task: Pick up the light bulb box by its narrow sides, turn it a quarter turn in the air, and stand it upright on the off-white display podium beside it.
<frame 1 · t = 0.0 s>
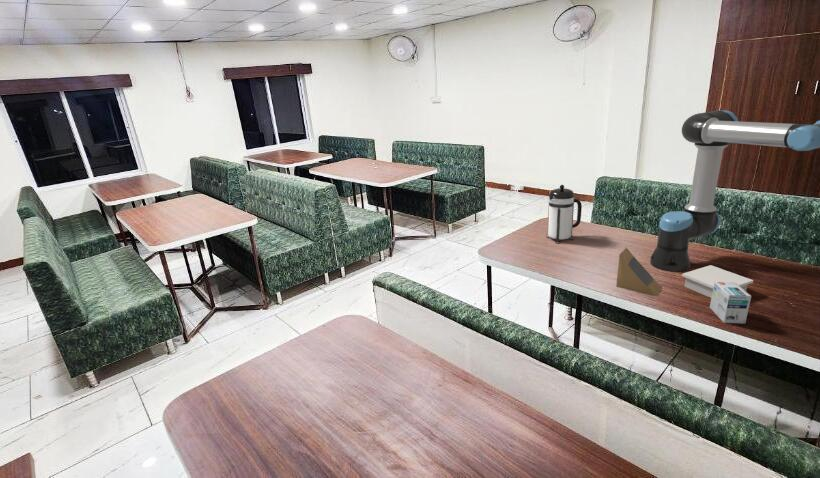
light bulb box: (726, 315, 143), on the table
podium: (714, 289, 160), on the table
coffee press: (561, 238, 223), on the table
sandwich container: (639, 288, 166), on the table
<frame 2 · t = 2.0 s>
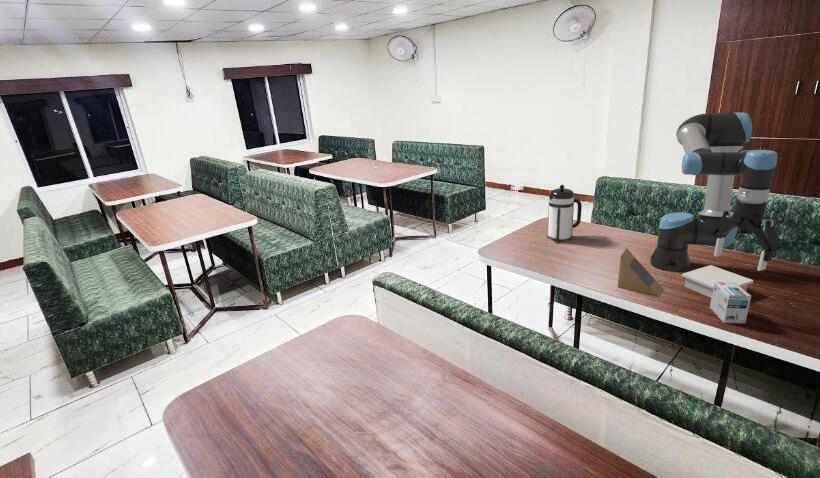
hand: (738, 262, 136), 20 cm above the table, tool pointing down, fingers open, 13 cm apart
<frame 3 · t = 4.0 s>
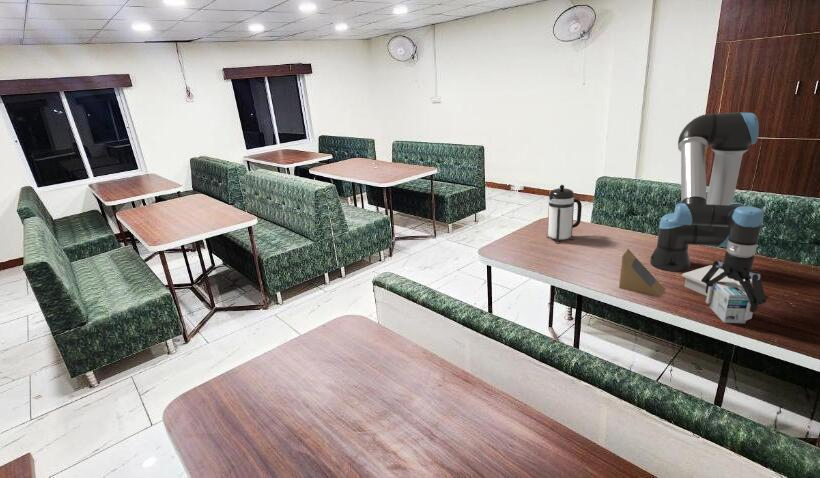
hand: (727, 310, 142), 2 cm above the table, tool pointing down, fingers closed on light bulb box, 12 cm apart
light bulb box: (726, 315, 143), on the table, touching gripper
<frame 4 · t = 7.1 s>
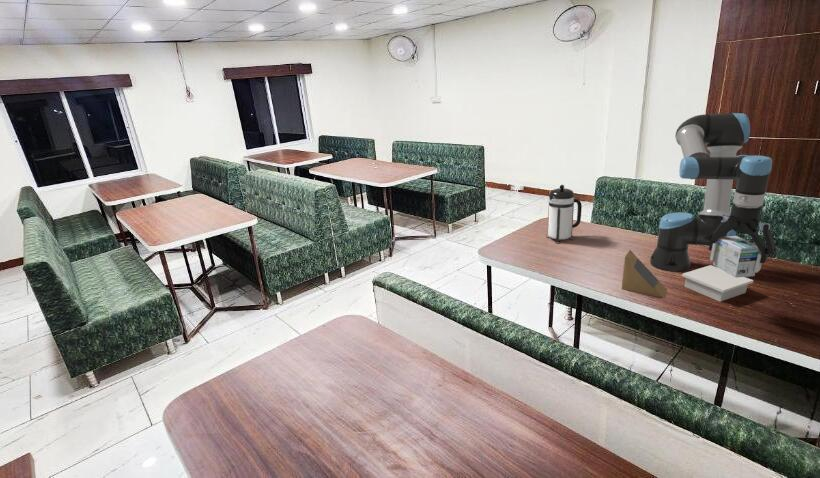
hand: (733, 265, 140), 18 cm above the table, tool pointing down, fingers closed on light bulb box, 12 cm apart
light bulb box: (732, 271, 140), point 16 cm above the table, touching gripper
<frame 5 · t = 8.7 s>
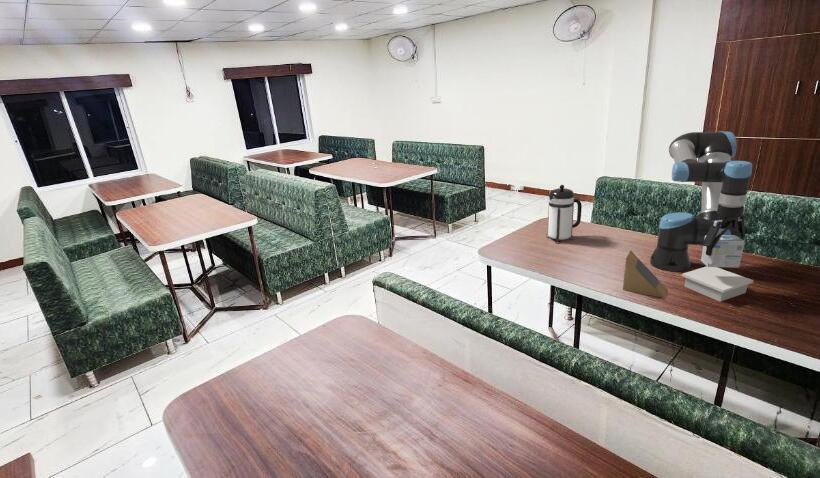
hand: (720, 259, 155), 13 cm above the table, tool pointing down, fingers closed on light bulb box, 12 cm apart
light bulb box: (719, 264, 156), point 11 cm above the table, touching gripper
when the fingers open (9 cm above the table, at t = 10.0 s): light bulb box drops 2 cm, resting on podium.
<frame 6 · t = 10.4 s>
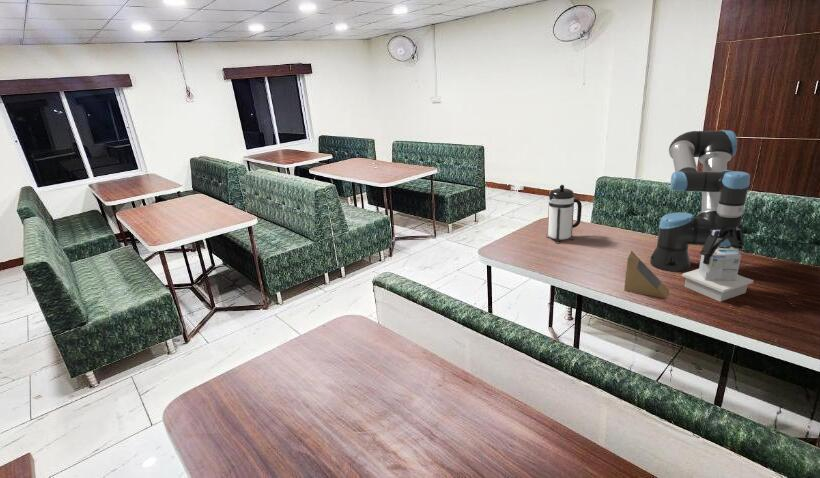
hand: (718, 267, 156), 10 cm above the table, tool pointing down, fingers open, 13 cm apart
light bulb box: (716, 277, 158), point 5 cm above the table, touching podium
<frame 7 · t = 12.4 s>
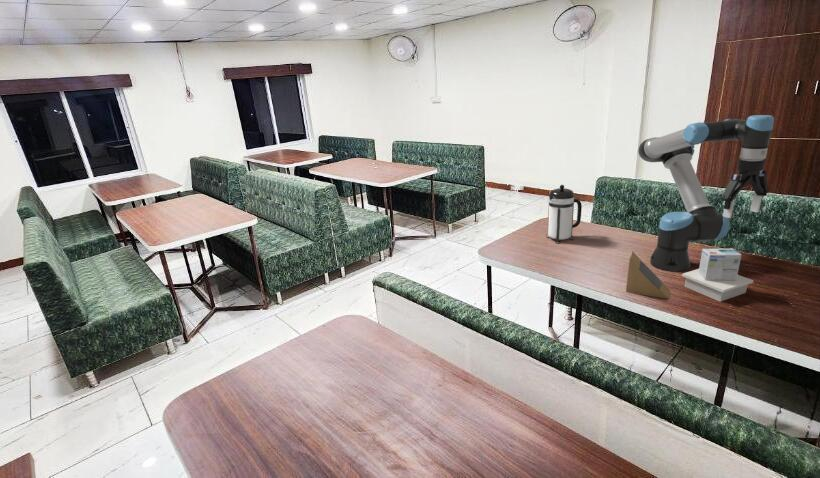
hand: (740, 214, 157), 27 cm above the table, tool pointing down, fingers open, 13 cm apart
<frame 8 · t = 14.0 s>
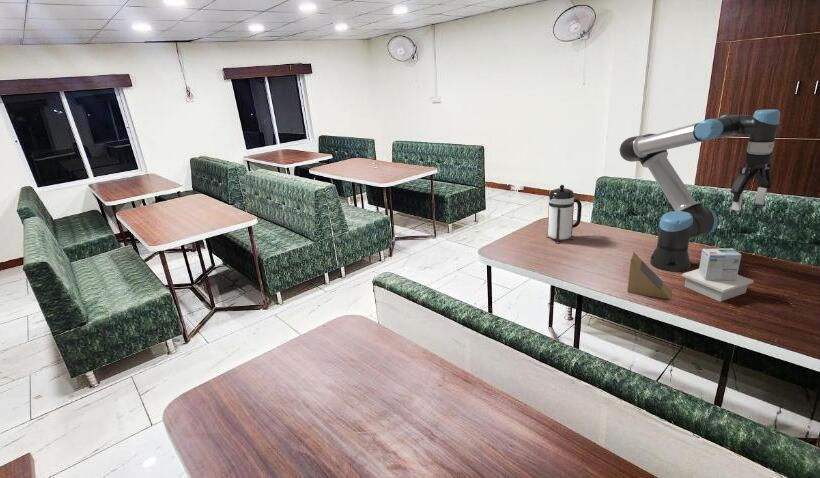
hand: (747, 206, 161), 29 cm above the table, tool pointing down, fingers open, 13 cm apart
at the end: light bulb box inside the target area on the podium (0.1 cm from its centre), point 5.3 cm above the podium's base; light bulb box tilted 0°; the gripper is holding nothing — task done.
